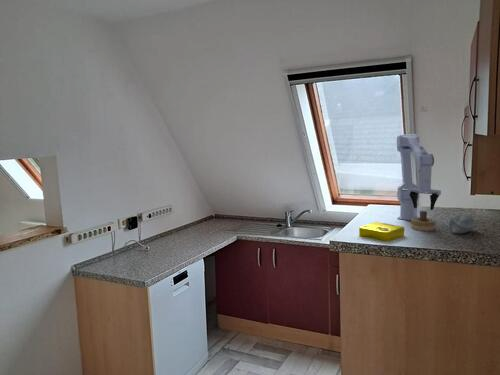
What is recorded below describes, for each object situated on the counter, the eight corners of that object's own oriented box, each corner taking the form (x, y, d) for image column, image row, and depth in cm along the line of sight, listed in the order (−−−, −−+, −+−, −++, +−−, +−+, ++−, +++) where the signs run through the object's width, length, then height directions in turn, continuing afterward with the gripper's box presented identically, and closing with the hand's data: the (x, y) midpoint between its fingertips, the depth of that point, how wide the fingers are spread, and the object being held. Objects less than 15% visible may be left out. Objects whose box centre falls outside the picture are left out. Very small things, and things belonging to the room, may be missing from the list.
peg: (420, 227, 197) (421, 210, 196) (427, 228, 195) (427, 211, 194) (418, 228, 195) (418, 211, 194) (424, 229, 193) (425, 212, 192)
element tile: (406, 236, 183) (406, 225, 182) (387, 242, 174) (387, 231, 173) (376, 230, 194) (376, 220, 194) (357, 236, 185) (357, 226, 184)
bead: (416, 224, 202) (416, 216, 202) (437, 227, 196) (437, 219, 195) (408, 228, 195) (408, 220, 195) (429, 231, 188) (430, 223, 188)
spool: (454, 220, 196) (463, 204, 190) (473, 231, 191) (483, 215, 184) (440, 231, 188) (448, 215, 182) (459, 243, 183) (469, 227, 177)
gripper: (405, 180, 194) (404, 208, 196) (437, 182, 184) (436, 211, 186) (411, 178, 199) (410, 206, 201) (443, 180, 190) (441, 209, 191)
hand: (423, 208), depth 194 cm, fingers open, 7 cm apart
